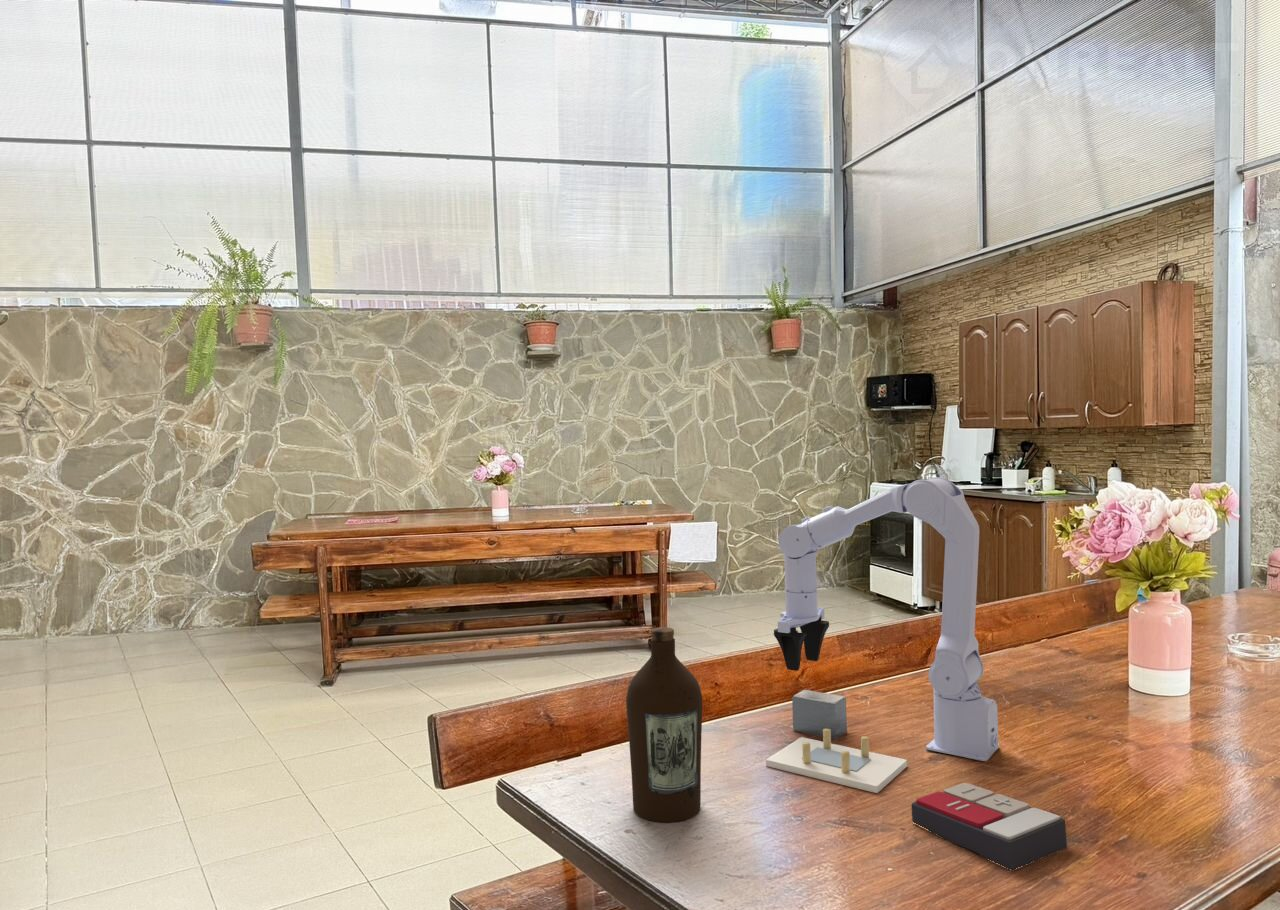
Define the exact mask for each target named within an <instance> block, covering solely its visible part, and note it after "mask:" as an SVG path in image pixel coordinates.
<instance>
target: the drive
mask: <svg viewBox="0 0 1280 910" xmlns="http://www.w3.org/2000/svg"><path fill="white" fill-rule="evenodd" d="M791 699H792V731H793V730H794V732H799V733H802V732H803V734H808V735H813V736H817V737H822V738H823V729H830V730H831V740H838V738H840V737H842V736H843V735H844V734H846V733H847V732H848V728H847V727H848V725H847V724H848V722H847V698H846V697H845V696H844V695H838V694H834V693H827V692H819V691H815V690H810V689H803V690H802V691H799V692H798V693H796V694H794V695H793V696H792V697H791Z"/></svg>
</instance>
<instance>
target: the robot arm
mask: <svg viewBox="0 0 1280 910" xmlns="http://www.w3.org/2000/svg"><path fill="white" fill-rule="evenodd" d="M822 510H823V512H821V513H819V514H817V515H815V516H813V517H810V518H809V517H808V516H807V517H804V518H802V519H801V520H800V521H801V523H799V524H789V525H787V526H786V528H784V529H782V530H781V532H780V534H779V536H778V539H777V540H778V547H779V549H780V551H781V553H782V554H783V557H784V559H783V560H784V591H785V594H784V595H785V611H781V612H780V614H779V615H780V616H779V617H781V619H780V620H778V621H777V628H775V629H773V636H774V638H775V639H776V641H777V642H778V644H779V647H780V649H781V651H782V655H783V656H782V657H783V659H784V662H785V665H786V669H787V670H790V671H796V672H797V671H800V667H801V657H802V649H803V646H804V656H805V659H806V660H807V661H813V662H818V661H819V658H820V654H821V649H822V645H823V641H824V637H825V635H826V633H827V631H828V628H829V627H830V621H828V620H823V619H825V608H823V607H818V576H817V575H818V573H817V571H818V570H817V553H818V551H819V550H821V549H824V548H826V547H828V546H831V545H833V544H835V543H837V542H841V541H842V540H844V539H848V538H850V537H852V535H853V533H854V532H855V529H856V527H857V526H858V525H861V524H864V523H865V522H868V521H871V520H874V519H876V518H878V517H882V516H883V515H886V514H888V513H891V512H896V513H900V514H904V513H908V514H910V515H911V516H913V517H914V518H916V519H918V520H920V521H922V522H924V523H926V524H929V525H930V526H931V527H932V528H933V529H935V530H936V531H937V532H938V533H939V534H940V535H941V536H942V537H943V539H944V559H943V560H944V561H943V586H942V606H941V625H940V626H941V628H940V637H939V639H938V641H937V642H938V643H937V645H936V647H935V657H934V661H933V662H932V663H931V665H930V667H929V668H928V669H929V671H928V680H929V683H930V685H931V687H932V688H933V731H934V732H933V733H934V736H933V737H934V738H933V739H932V740H931V741H930V742H929V743H928V744H926V745H925V749H926V750H928V751H932V752H938V753H943V754H948V755H952V756H956V757H961V758H962V757H963V758H967V759H971V760H976V761H981V762H987V761H988V760H989V759H990V758H991V757H992V756H993V754H995V753H996V751H997V750H998V749H999V748H1000V744H999V719H998V718H999V716H998V714H999V713H998V712H999V711H998V705H997V701H996V699H992V698H988V697H986V696H984V695H982V693H981V692H982V691H981V689H980V687H979V684H978V682H979V681H980V680H981V678H982V676H983V674H984V663H983V659H982V657H981V655H980V652H979V648H980V647H979V646H980V644H979V641H978V639H977V637H976V635H975V630H976V612H977V610H976V609H977V589H978V569H979V548H980V546H979V545H980V524H979V523H978V521H977V519H976V517H975V516H974V513H973V512H972V510H971V509H970V507H969V505H968V502H967V500H966V498H965V495H964V491H963V490H962V489H961V488H960V487H958V486H957V485H956V484H955V483H953V482H952V481H951V480H949V479H947V478H945V477H941V476H936V477H932V478H930V479H917V480H914V481H912V482H911V483H905V484H902V485H898V486H894V487H891V488H889V489H886V490H885V491H882V492H880V493H879V494H876V495H874V496H873V497H871V498H869V499H866V500H864V501H862V502H861V503H858V504H856V505H855V506H853V507H850V508H847V509H846V508H843V507H841V506H838V505H837V506H834V507H833V505H829V506H826V507H824V508H822ZM797 628H800V632H799V631H798V630H797Z"/></svg>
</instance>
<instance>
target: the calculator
mask: <svg viewBox="0 0 1280 910" xmlns="http://www.w3.org/2000/svg"><path fill="white" fill-rule="evenodd" d="M910 806H911V820H912V821H913V822H914V823H916V824H918V825H920V826H922V827H924V828H926V829H928V830H929V831H931V832H932V833H931V832H930V833H931V834H933V833H935V834H937V835H938V836H937V835H936V836H937V837H939V836H940V837H939V838H941V837H942V838H941V839H943V838H944V839H943V840H945V839H946V841H948V840H949V841H948V842H950V841H951V842H950V843H953V844H954V845H957V846H959V847H963V848H965V849H967V850H969V851H972V852H974V853H976V854H978V855H979V856H980V857H981V856H982V857H984V858H986V859H989V860H991V861H994V862H995V863H998V864H1000V865H1002V866H1004V867H1006V868H1008V869H1011V870H1015V869H1016V868H1018V867H1021V866H1024V865H1026V864H1029V863H1031V862H1033V861H1035V862H1037V861H1036V860H1038V859H1040V858H1042V857H1044V858H1046V857H1045V856H1047V857H1049V856H1050V855H1049V854H1051V855H1053V854H1052V853H1054V854H1055V853H1058V852H1059V851H1062V850H1065V849H1067V847H1068V844H1067V843H1068V842H1067V827H1066V819H1065V818H1063V817H1061V816H1060V815H1058V814H1054V813H1051V812H1049V811H1046V810H1044V809H1043V810H1042V809H1041V808H1037V807H1031V806H1030V804H1029V803H1027V802H1024V801H1021V800H1019V799H1016V798H1012V797H1009V796H1008V795H1007V796H1006V795H1004V794H1000V793H997V794H995V792H994V791H993V790H989V789H986V788H984V787H980V786H977V785H975V784H972V783H969V782H962V783H959V784H957V785H954V786H951V787H948V788H945V789H943V791H936V792H933V793H930V794H928V795H924V796H921V797H917V798H916V799H915V801H914V802H912V803H911V805H910ZM929 831H928V832H929ZM935 834H934V835H935ZM1057 851H1058V852H1057ZM1048 855H1049V856H1048ZM982 857H981V858H982ZM984 858H983V859H984ZM986 859H985V860H986ZM1042 859H1043V858H1042ZM1040 860H1041V859H1040ZM991 861H990V862H991ZM1038 861H1039V860H1038ZM995 863H994V864H995ZM1033 863H1034V862H1033ZM1031 864H1032V863H1031ZM1029 865H1030V864H1029ZM1026 866H1027V865H1026ZM1024 867H1025V866H1024ZM1015 871H1016V870H1015Z"/></svg>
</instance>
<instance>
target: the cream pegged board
mask: <svg viewBox="0 0 1280 910" xmlns="http://www.w3.org/2000/svg"><path fill="white" fill-rule="evenodd" d="M822 740H823V741H821V740H816V739H812V738H807V737H803V736H800V737H799V738H797V739H796V740H794V741H793V742H792V743H790V744H788V745H786V746H785V747H784V748H782V749H780V750H779V751H777V752H775V753H774V754H772V755H770V757H767V758H766V760H765V766H766V767H769V768H773V769H777V770H779V771H780V770H781V771H785V772H788V773H793V774H797V775H802V776H806V777H809V778H814V779H818V780H821V781H826V782H829V783H834V784H838V785H843V786H846V787H850V788H853V789H859V790H862V791H867V792H871V793H874V794H875V793H876V794H879V792H880V791H882V790H883V789H884V787H886V786H887V785H888V784H889V783H890V782H891V781H893V780H894V779H895V778H896V777H897V776H898V775H899V774H901V773H902V772H903V771H904V770H905V769H906V768H907V767H908V759H906V758H905V759H904V758H901V757H895V756H890V755H887V754H881V753H877V752H873V751H870V737H868V736H865V735H864V736H863V735H862V736H860V749H858V748H852V747H849V746H844V745H840V744H835V743H832V739H831V730H830V729H823V737H822Z"/></svg>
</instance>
